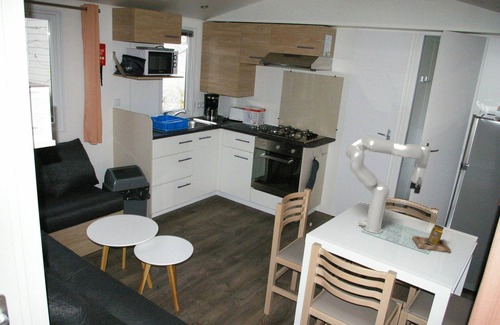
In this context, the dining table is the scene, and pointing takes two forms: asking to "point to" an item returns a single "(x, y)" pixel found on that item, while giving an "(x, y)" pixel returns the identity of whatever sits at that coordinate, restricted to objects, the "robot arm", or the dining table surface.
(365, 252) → the dining table surface
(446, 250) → the serving tray
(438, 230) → the condiment
